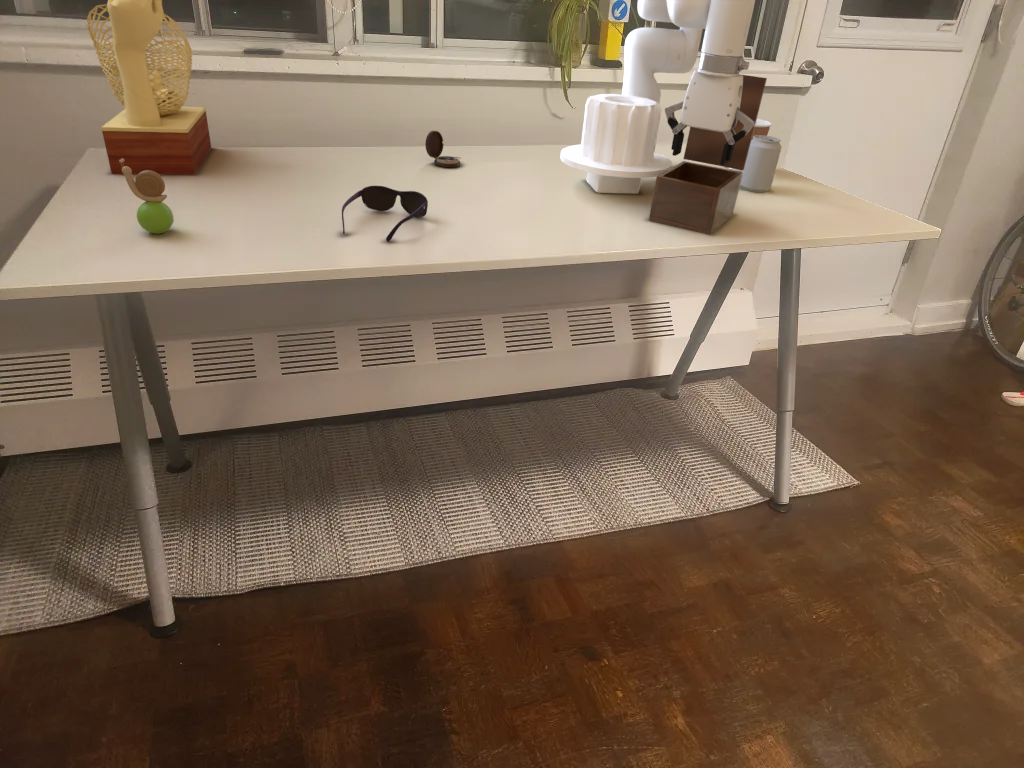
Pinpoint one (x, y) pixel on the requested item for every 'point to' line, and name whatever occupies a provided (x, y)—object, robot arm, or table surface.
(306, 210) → the table surface
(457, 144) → the table surface
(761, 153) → the can
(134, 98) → the cream lattice sculpture
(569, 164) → the flanged gear
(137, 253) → the table surface
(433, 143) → the compass
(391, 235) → the sunglasses
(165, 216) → the snail figurine
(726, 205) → the chest
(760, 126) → the coffee cup
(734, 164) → the chest lid
